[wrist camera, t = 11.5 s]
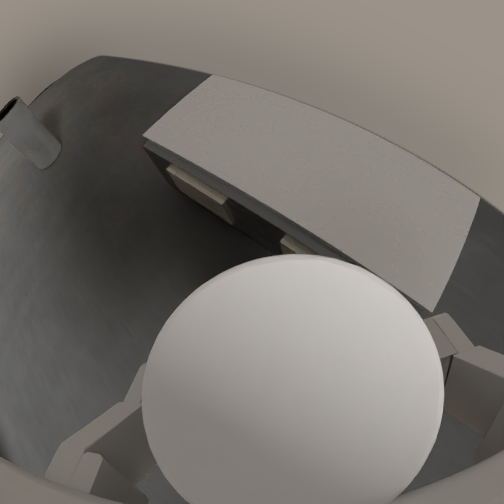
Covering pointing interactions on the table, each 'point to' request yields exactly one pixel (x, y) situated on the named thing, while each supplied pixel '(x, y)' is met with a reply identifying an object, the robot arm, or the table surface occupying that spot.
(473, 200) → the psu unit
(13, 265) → the table surface
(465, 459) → the table surface
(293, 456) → the supplement bottle
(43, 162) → the planter
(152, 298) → the table surface
